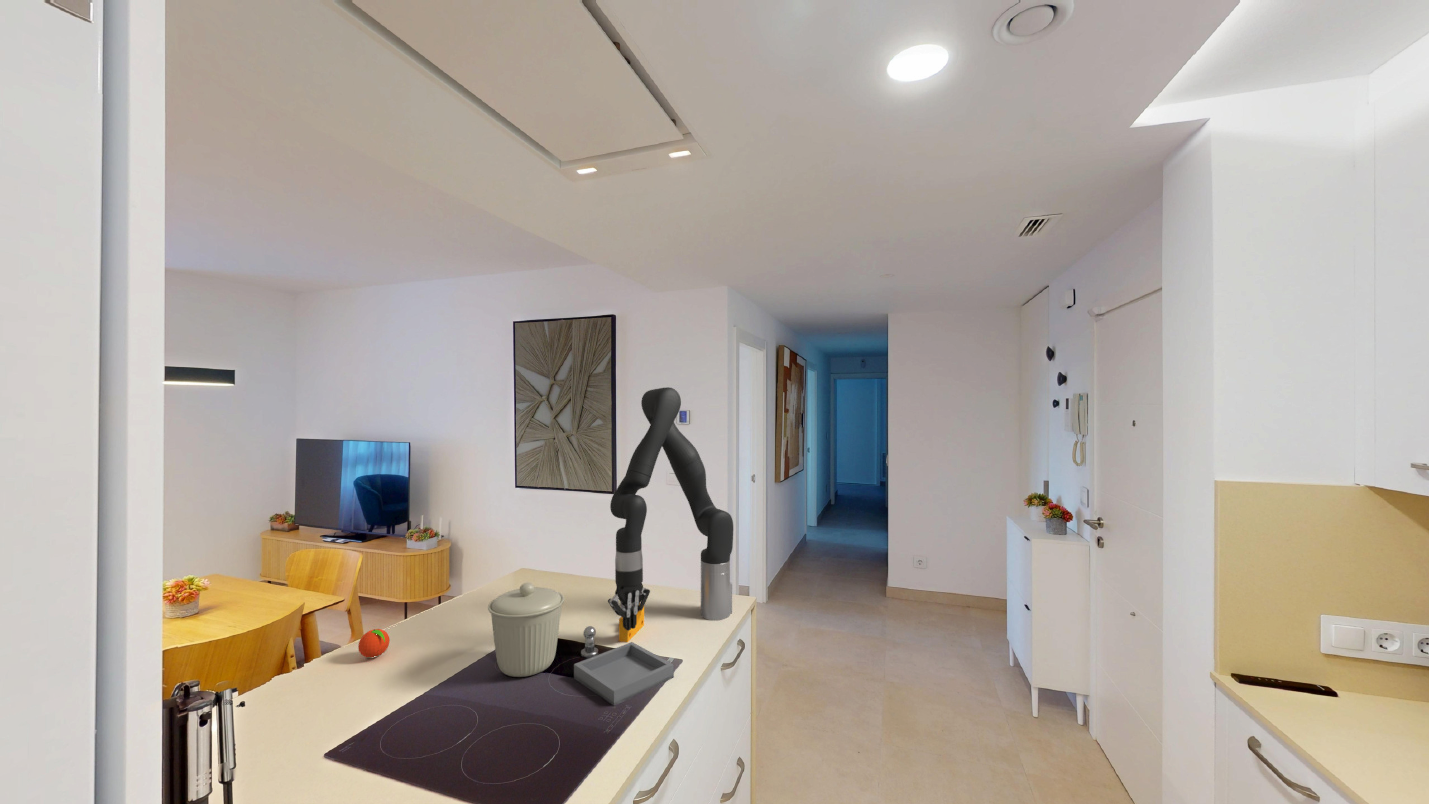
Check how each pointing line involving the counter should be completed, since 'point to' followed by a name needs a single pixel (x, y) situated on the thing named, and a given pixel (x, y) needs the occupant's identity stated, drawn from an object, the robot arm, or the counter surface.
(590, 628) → the door knob
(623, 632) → the pipe clamp
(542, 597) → the canister
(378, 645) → the clementine
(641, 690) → the parts bin
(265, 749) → the counter surface
